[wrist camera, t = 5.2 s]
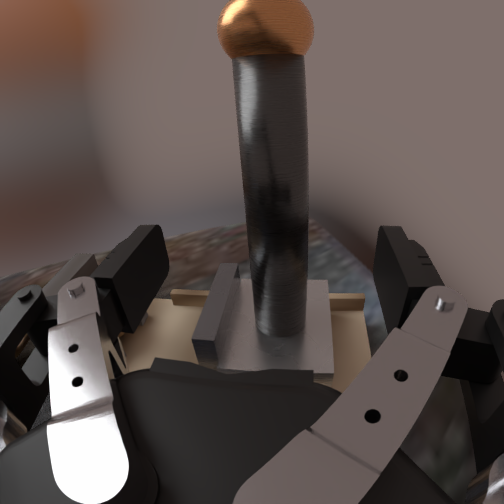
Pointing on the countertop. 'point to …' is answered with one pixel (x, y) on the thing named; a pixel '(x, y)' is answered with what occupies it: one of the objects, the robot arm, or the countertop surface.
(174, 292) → the base
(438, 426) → the countertop surface
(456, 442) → the countertop surface
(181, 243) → the countertop surface
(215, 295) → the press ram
